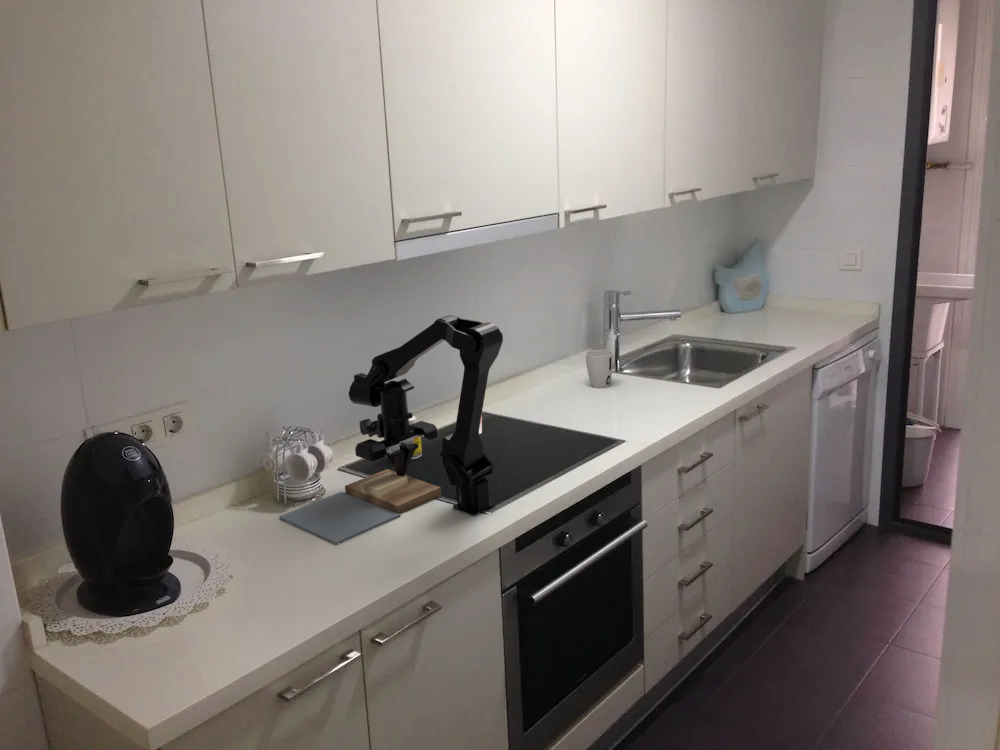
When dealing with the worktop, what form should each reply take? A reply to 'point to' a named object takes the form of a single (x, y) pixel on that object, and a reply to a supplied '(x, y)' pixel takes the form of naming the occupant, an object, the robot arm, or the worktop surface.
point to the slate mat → (339, 517)
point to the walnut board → (398, 494)
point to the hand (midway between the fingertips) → (401, 477)
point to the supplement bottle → (416, 441)
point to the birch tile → (384, 485)
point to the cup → (599, 367)
